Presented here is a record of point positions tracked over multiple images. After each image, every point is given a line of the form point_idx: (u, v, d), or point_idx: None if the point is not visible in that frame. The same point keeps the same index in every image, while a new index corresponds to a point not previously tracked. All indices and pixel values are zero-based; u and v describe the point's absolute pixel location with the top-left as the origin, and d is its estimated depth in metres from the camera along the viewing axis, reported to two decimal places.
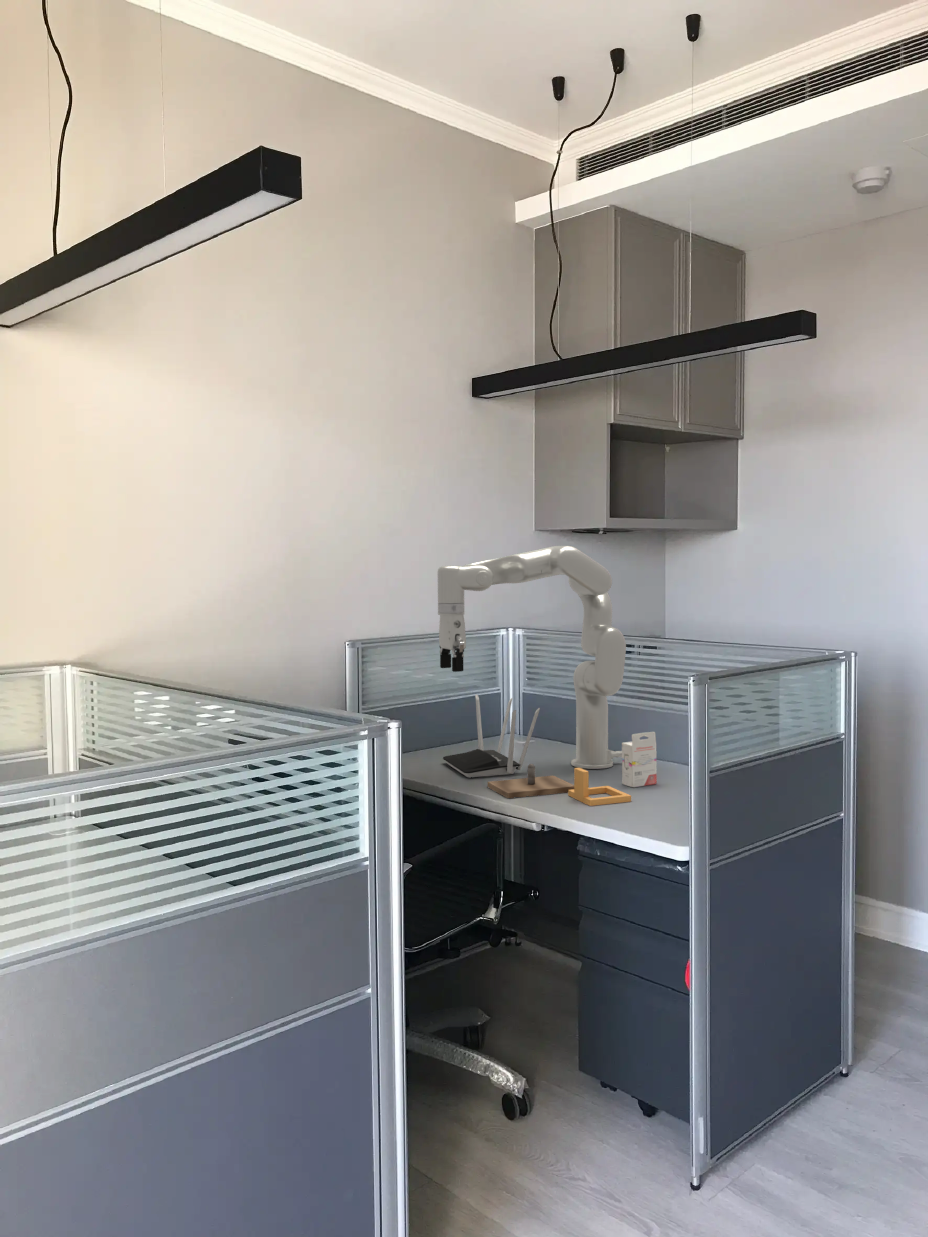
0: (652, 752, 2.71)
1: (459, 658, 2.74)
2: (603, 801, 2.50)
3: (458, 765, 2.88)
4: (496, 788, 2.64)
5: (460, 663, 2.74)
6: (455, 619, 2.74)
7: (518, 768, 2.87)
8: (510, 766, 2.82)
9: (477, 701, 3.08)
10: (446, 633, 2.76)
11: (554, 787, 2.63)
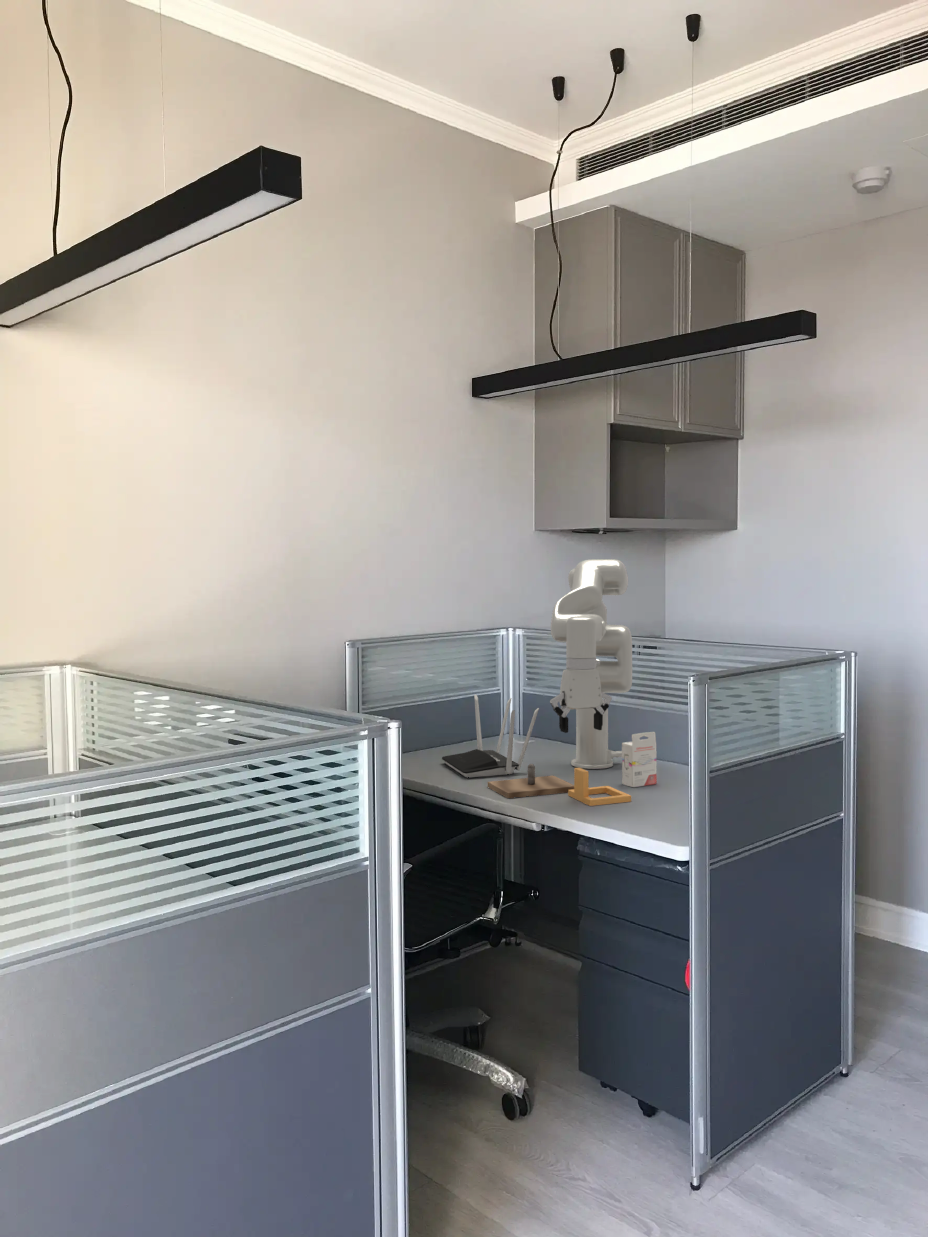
0: (652, 752, 2.71)
1: None
2: (603, 801, 2.50)
3: (457, 765, 2.88)
4: (496, 788, 2.64)
5: None
6: None
7: (517, 768, 2.87)
8: (509, 766, 2.82)
9: (476, 701, 3.08)
10: (593, 690, 2.52)
11: (554, 787, 2.63)
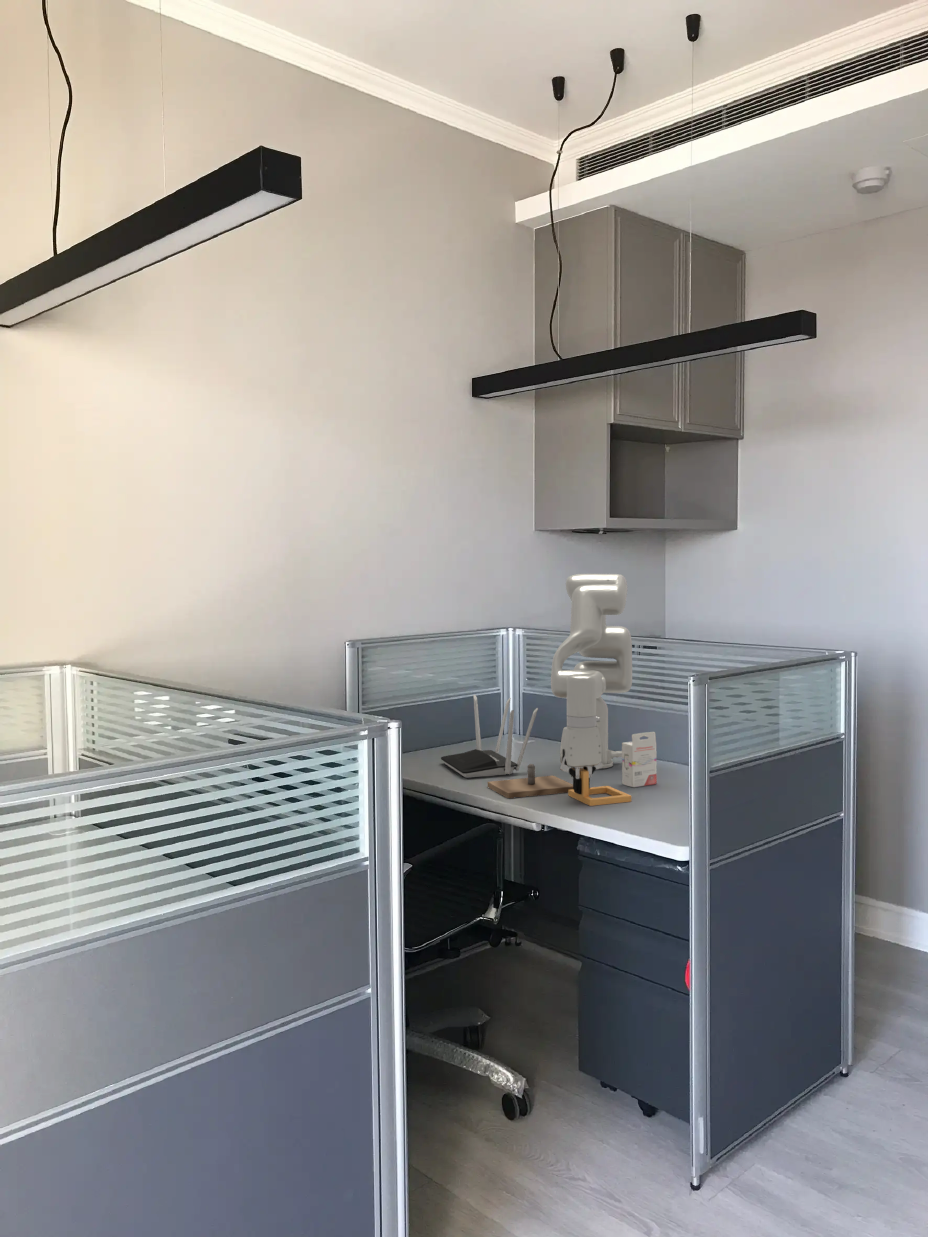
0: (652, 752, 2.71)
1: None
2: (603, 801, 2.50)
3: (456, 765, 2.88)
4: (496, 788, 2.64)
5: None
6: None
7: (516, 768, 2.87)
8: (508, 766, 2.82)
9: (475, 701, 3.08)
10: (593, 748, 2.53)
11: (554, 787, 2.63)
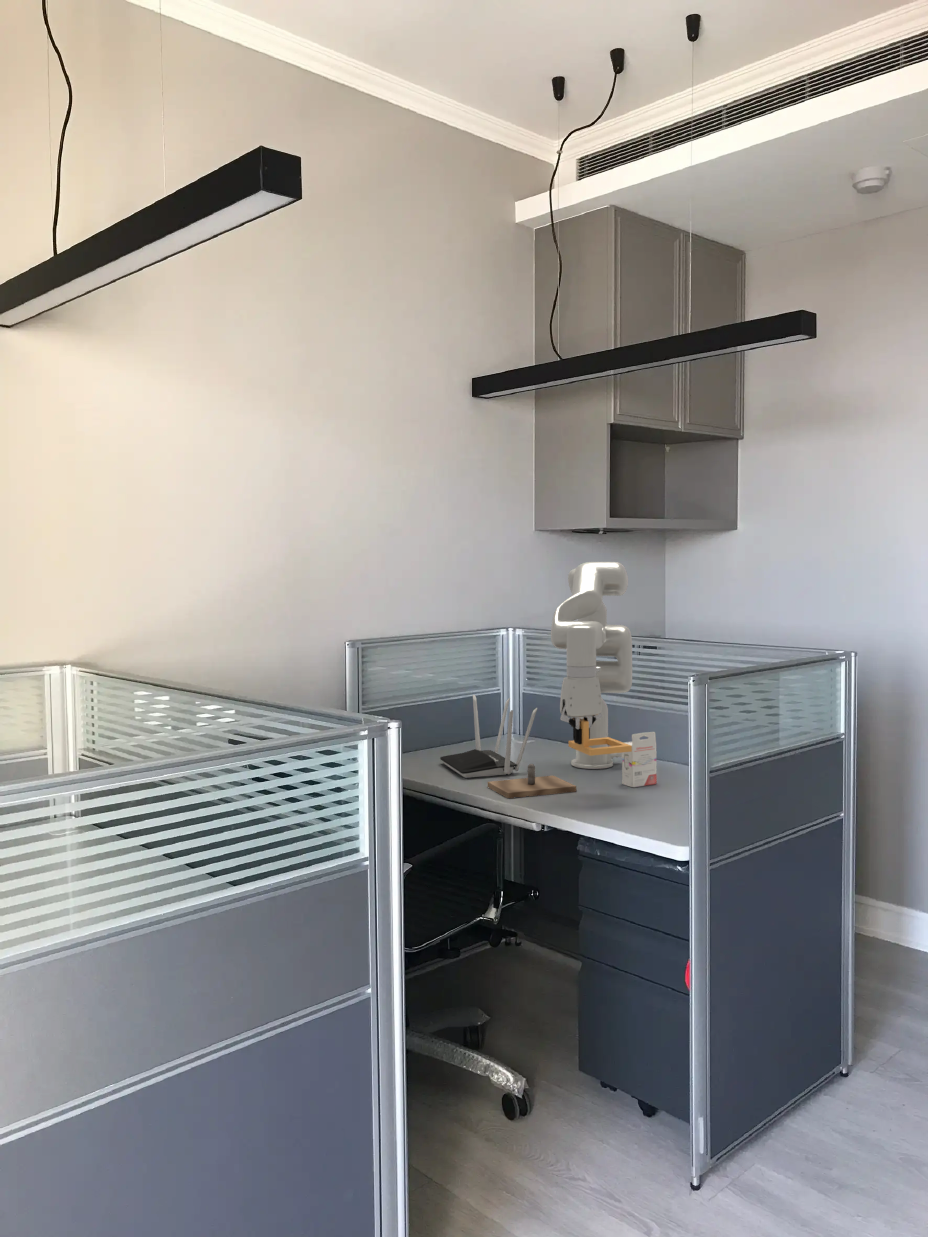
0: (652, 752, 2.71)
1: None
2: (603, 751, 2.50)
3: (455, 765, 2.88)
4: (496, 788, 2.64)
5: None
6: None
7: (515, 768, 2.86)
8: (507, 766, 2.82)
9: (474, 701, 3.08)
10: (594, 698, 2.52)
11: (554, 787, 2.63)
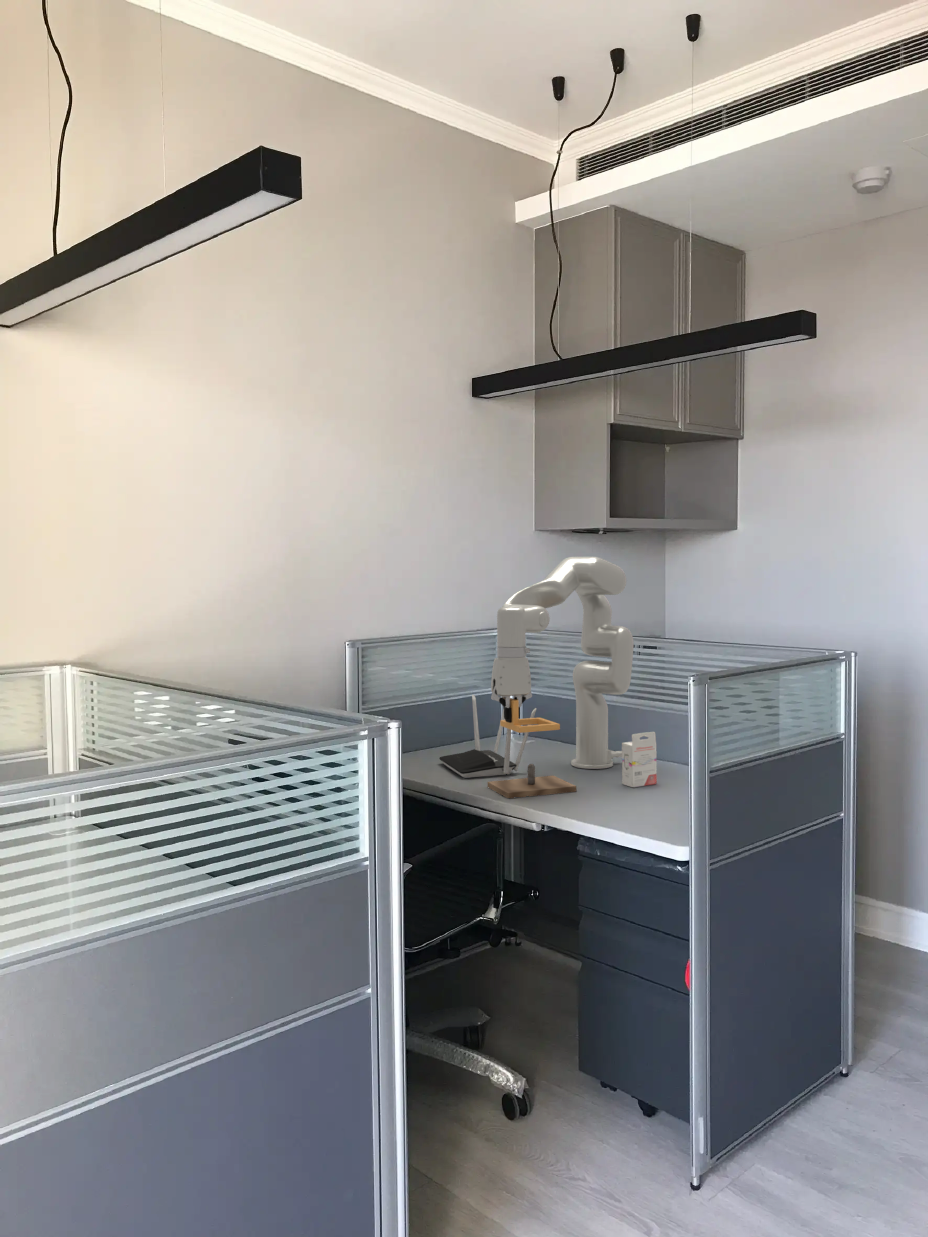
0: (652, 752, 2.71)
1: None
2: (532, 728, 2.59)
3: (454, 765, 2.88)
4: (496, 788, 2.64)
5: None
6: None
7: (514, 768, 2.86)
8: (506, 766, 2.82)
9: (474, 701, 3.08)
10: (523, 678, 2.61)
11: (554, 787, 2.63)
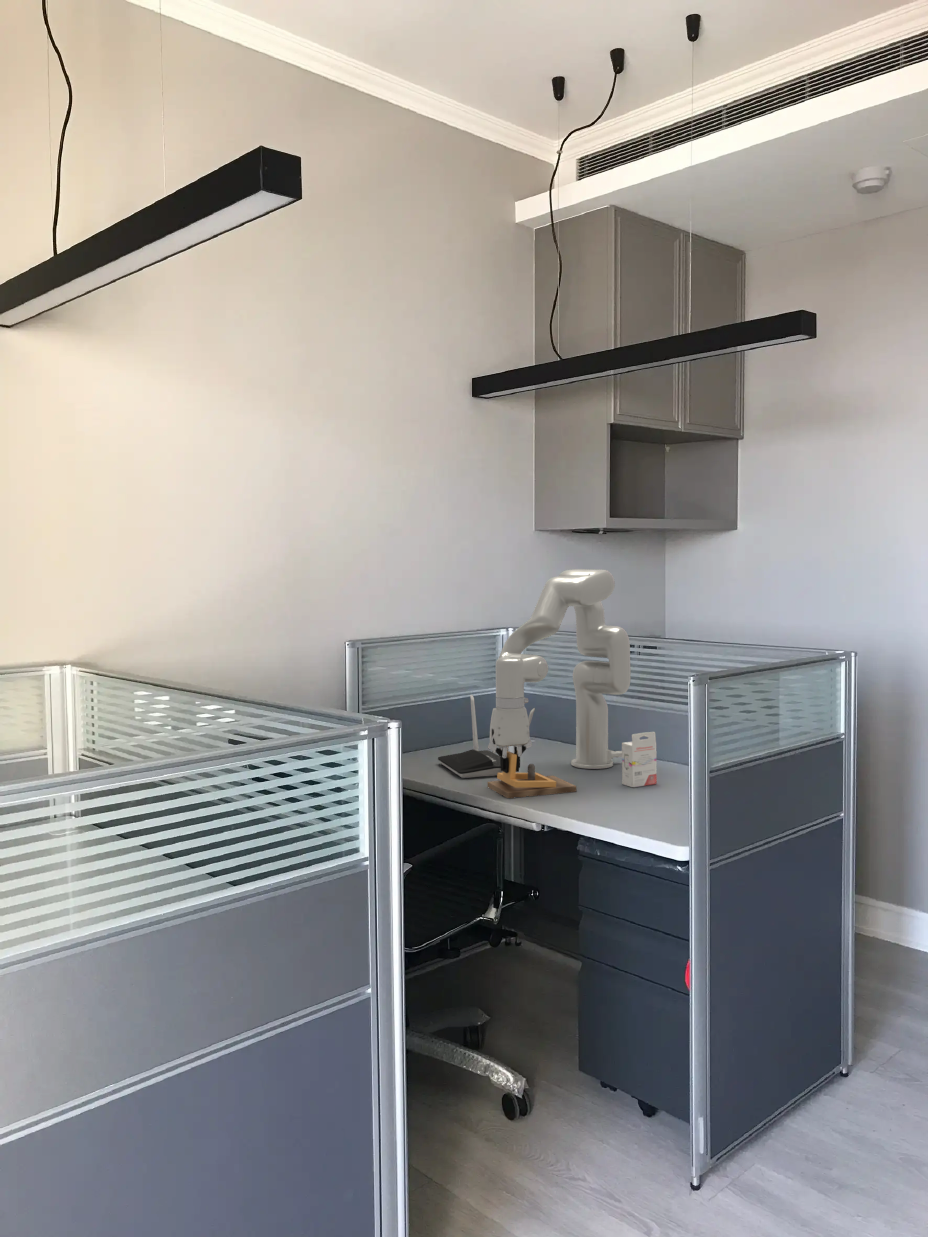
0: (652, 752, 2.71)
1: None
2: (528, 784, 2.60)
3: (453, 765, 2.87)
4: (496, 788, 2.64)
5: None
6: None
7: None
8: None
9: (472, 701, 3.08)
10: (521, 728, 2.63)
11: (554, 787, 2.63)
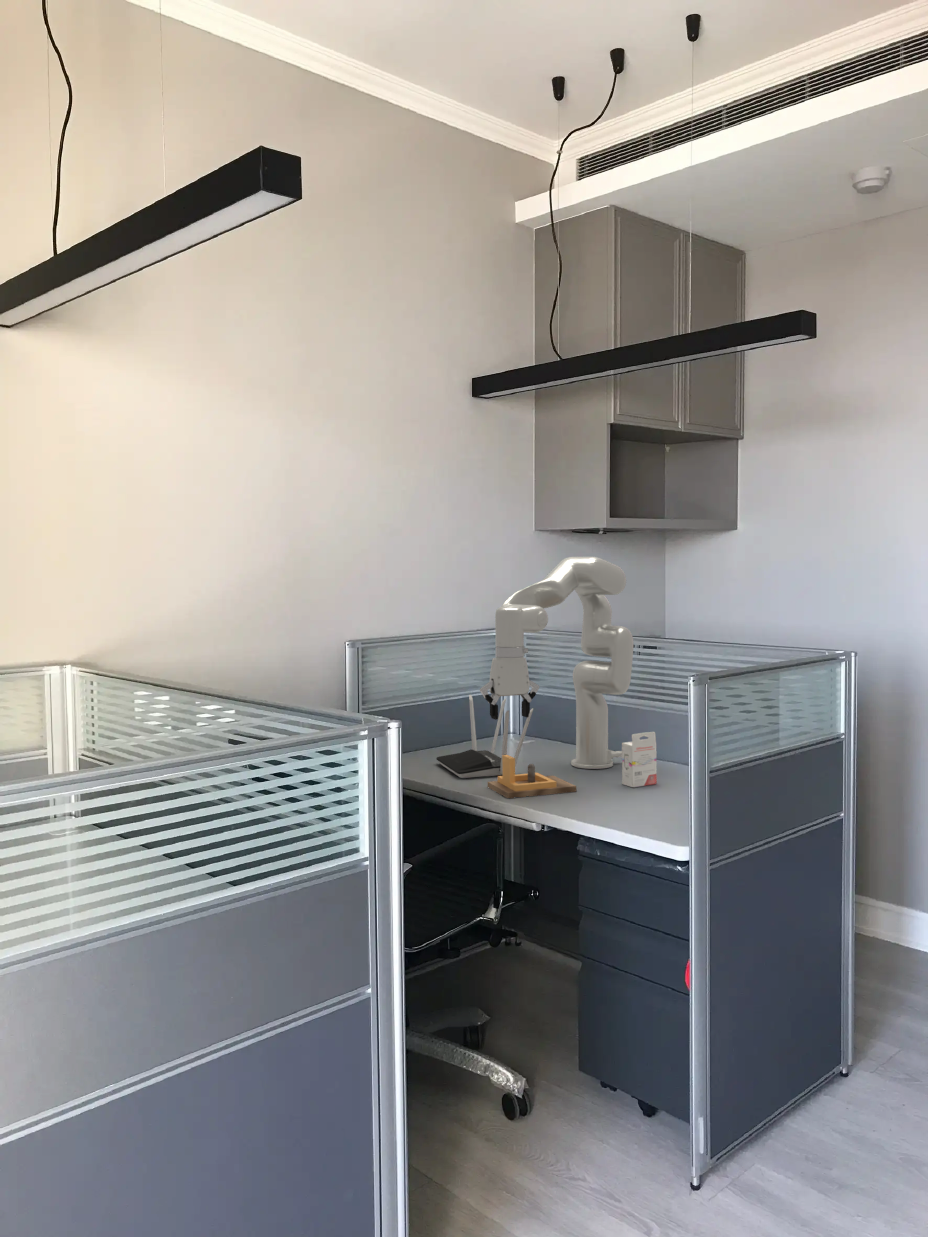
0: (652, 752, 2.71)
1: None
2: (528, 787, 2.60)
3: (451, 766, 2.87)
4: (496, 788, 2.64)
5: None
6: None
7: None
8: None
9: (471, 701, 3.08)
10: (521, 678, 2.62)
11: (554, 787, 2.63)
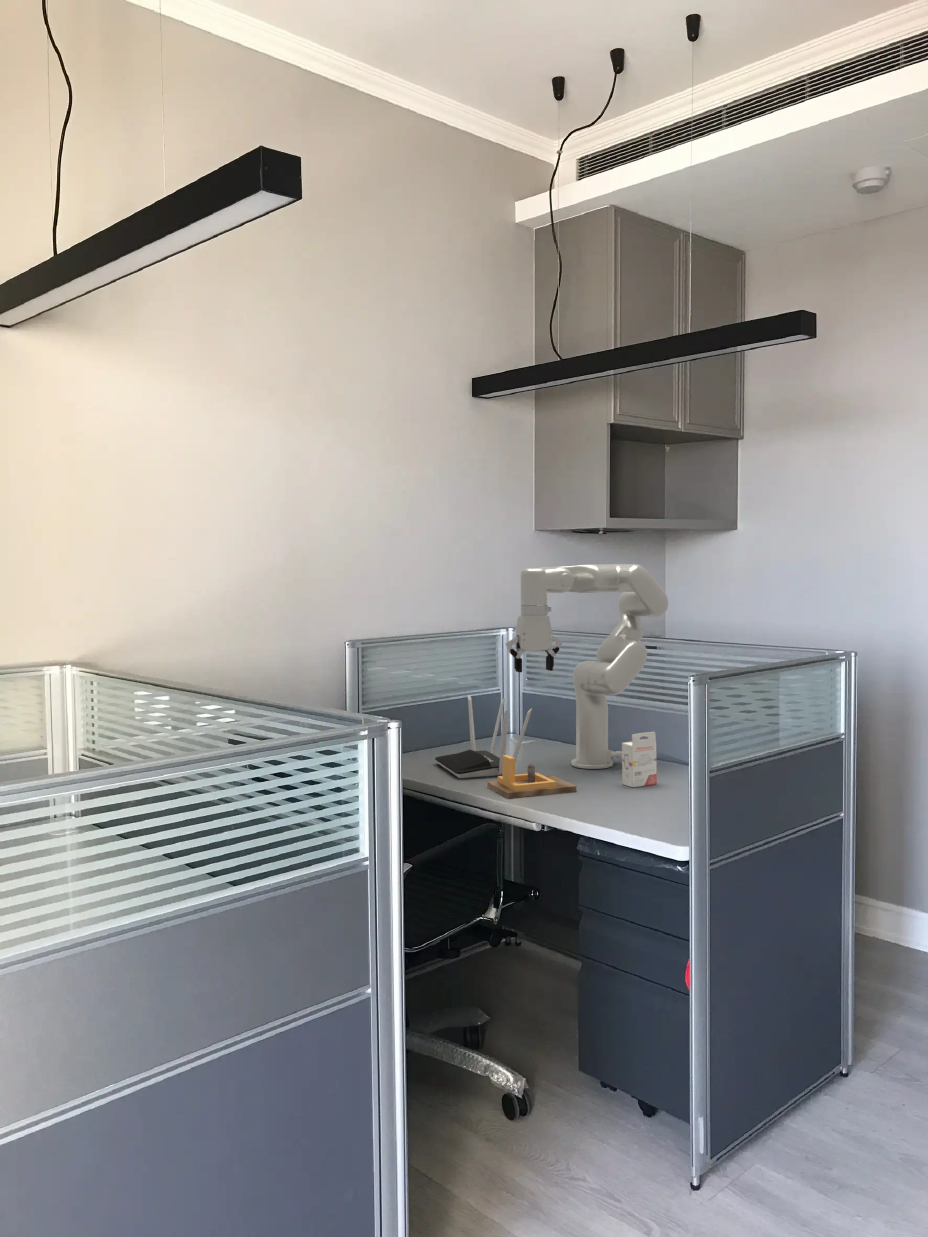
0: (652, 752, 2.71)
1: None
2: (528, 787, 2.60)
3: (450, 766, 2.87)
4: (496, 788, 2.64)
5: None
6: None
7: None
8: (502, 767, 2.81)
9: (469, 701, 3.07)
10: (545, 634, 2.80)
11: (554, 787, 2.63)
